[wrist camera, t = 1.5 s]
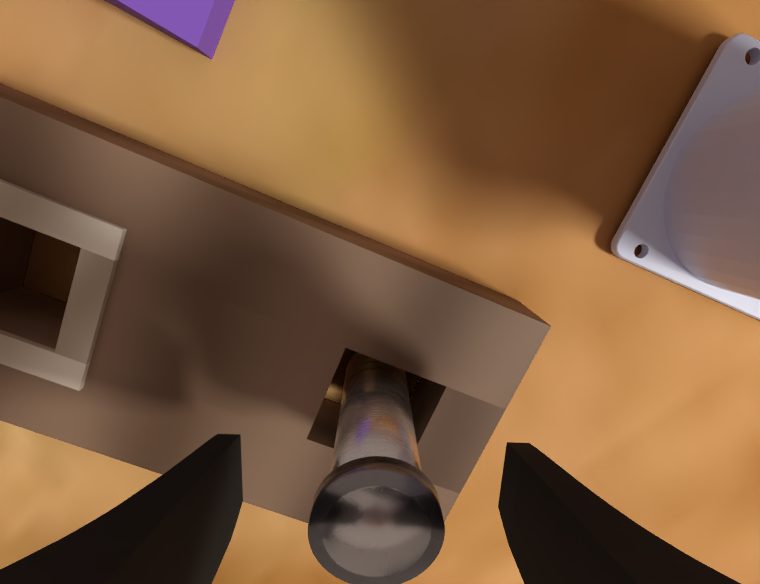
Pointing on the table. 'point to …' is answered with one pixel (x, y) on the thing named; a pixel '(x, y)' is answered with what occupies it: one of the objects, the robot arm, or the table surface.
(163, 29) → the bracket
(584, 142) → the table surface
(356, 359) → the pin
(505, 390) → the board
